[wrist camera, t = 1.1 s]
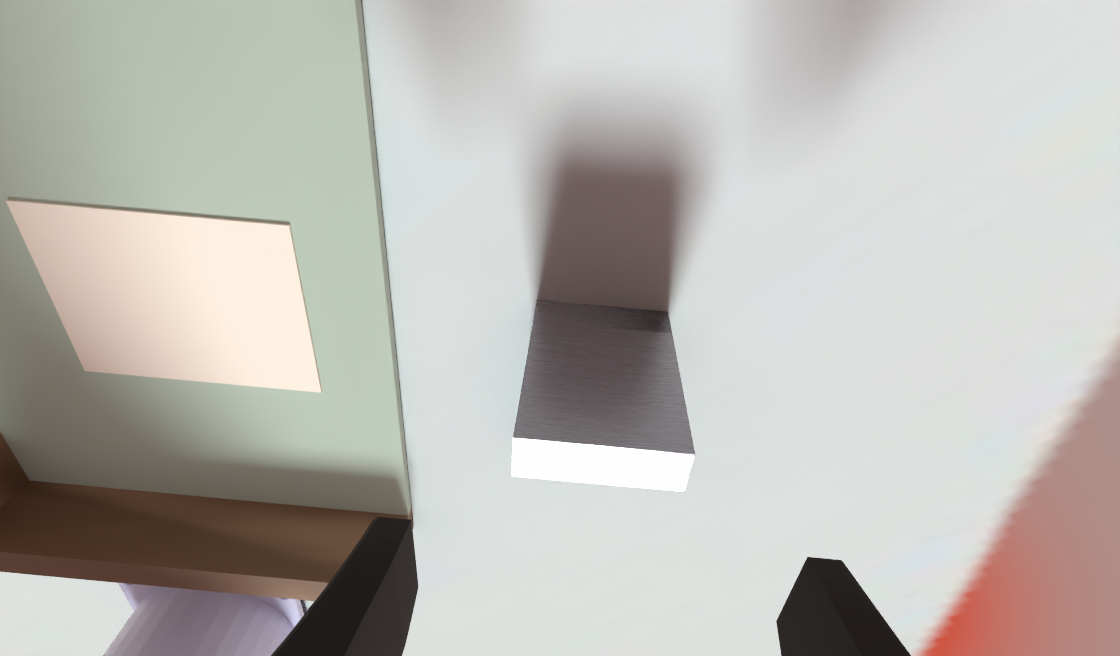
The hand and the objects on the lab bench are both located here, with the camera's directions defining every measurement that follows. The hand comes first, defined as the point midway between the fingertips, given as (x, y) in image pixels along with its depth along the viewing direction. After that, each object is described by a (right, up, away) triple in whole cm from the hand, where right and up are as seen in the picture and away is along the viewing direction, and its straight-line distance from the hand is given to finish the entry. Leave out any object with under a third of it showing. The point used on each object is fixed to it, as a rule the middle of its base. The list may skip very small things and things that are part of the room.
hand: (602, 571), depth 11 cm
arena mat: (-13, +6, +8) cm, 16 cm away
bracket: (0, +3, +9) cm, 9 cm away
